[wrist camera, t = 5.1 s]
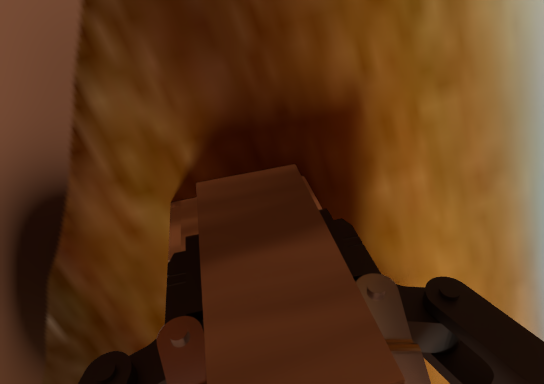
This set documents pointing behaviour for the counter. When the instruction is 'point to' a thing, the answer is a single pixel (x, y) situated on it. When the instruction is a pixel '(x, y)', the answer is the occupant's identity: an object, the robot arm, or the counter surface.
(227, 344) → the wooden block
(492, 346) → the robot arm
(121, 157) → the counter surface
